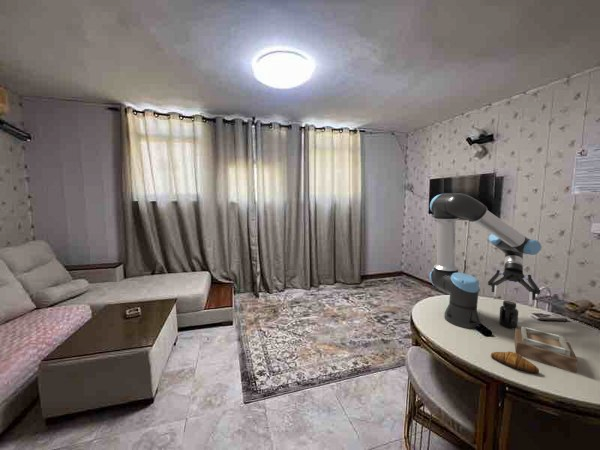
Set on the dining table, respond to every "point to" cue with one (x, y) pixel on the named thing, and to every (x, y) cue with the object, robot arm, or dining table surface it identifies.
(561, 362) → the walnut tray
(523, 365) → the croissant
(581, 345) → the dining table surface
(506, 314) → the supplement bottle
